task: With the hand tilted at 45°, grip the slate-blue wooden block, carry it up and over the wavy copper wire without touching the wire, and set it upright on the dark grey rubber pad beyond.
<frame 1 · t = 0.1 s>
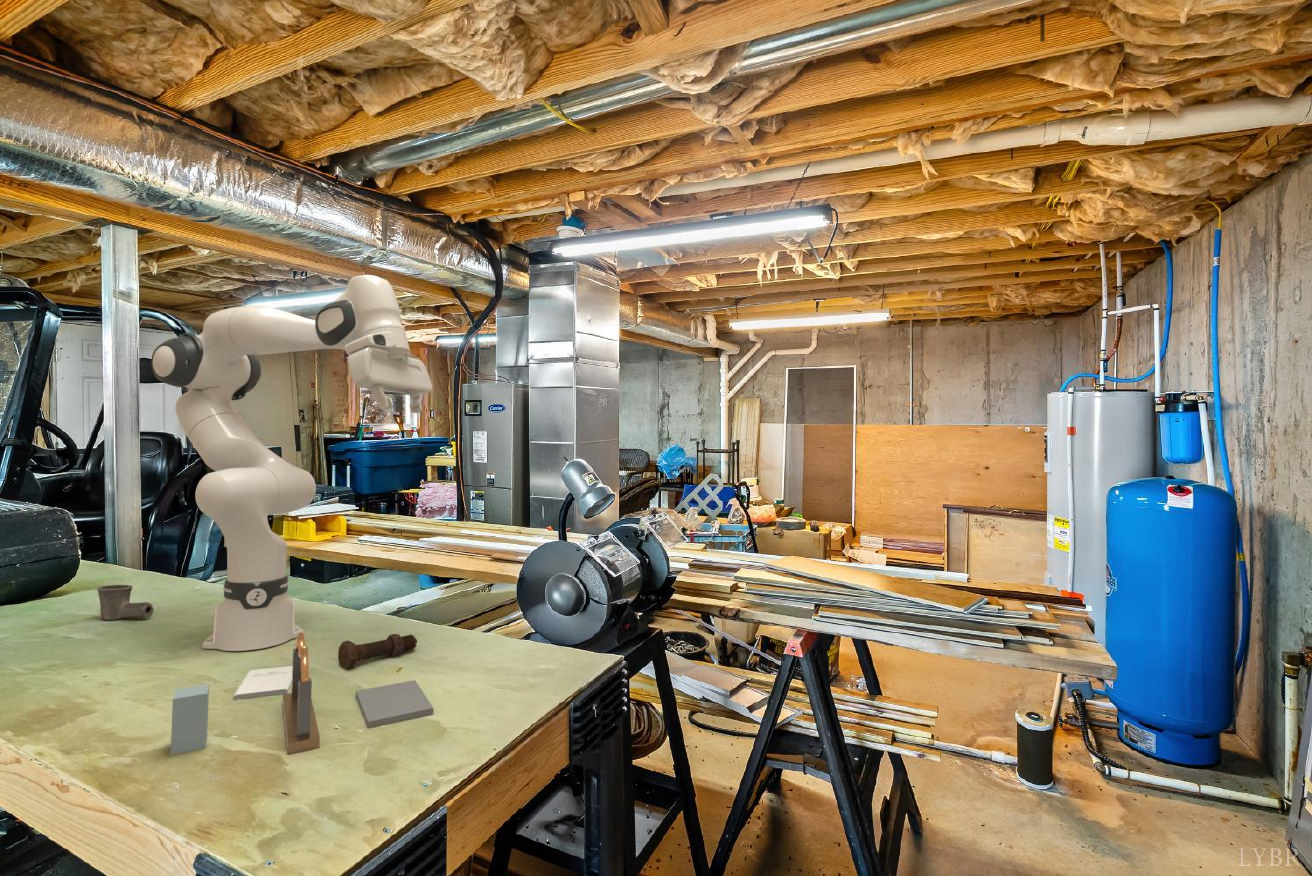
hand: (402, 410, 125), 52 cm above the table, tool tilted 20°, fingers open, 8 cm apart
wire frame: (299, 723, 97), on the table
pipe: (123, 619, 149), on the table
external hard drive: (267, 688, 112), on the table
bolt: (380, 660, 126), on the table
pad: (393, 704, 104), on the table
block: (189, 745, 89), on the table
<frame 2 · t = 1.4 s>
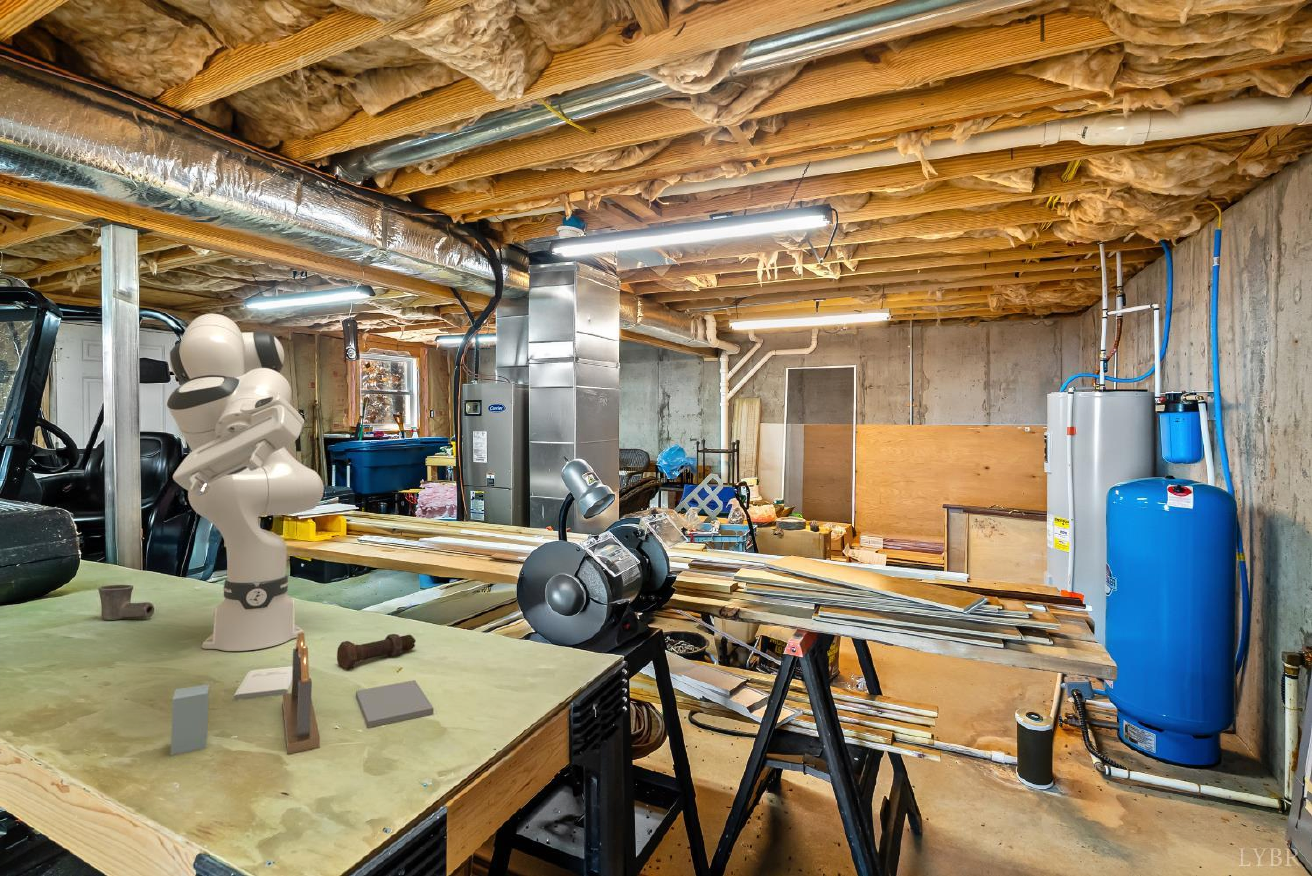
hand: (224, 479, 93), 39 cm above the table, tool tilted 55°, fingers open, 8 cm apart
nothing on the table moved.
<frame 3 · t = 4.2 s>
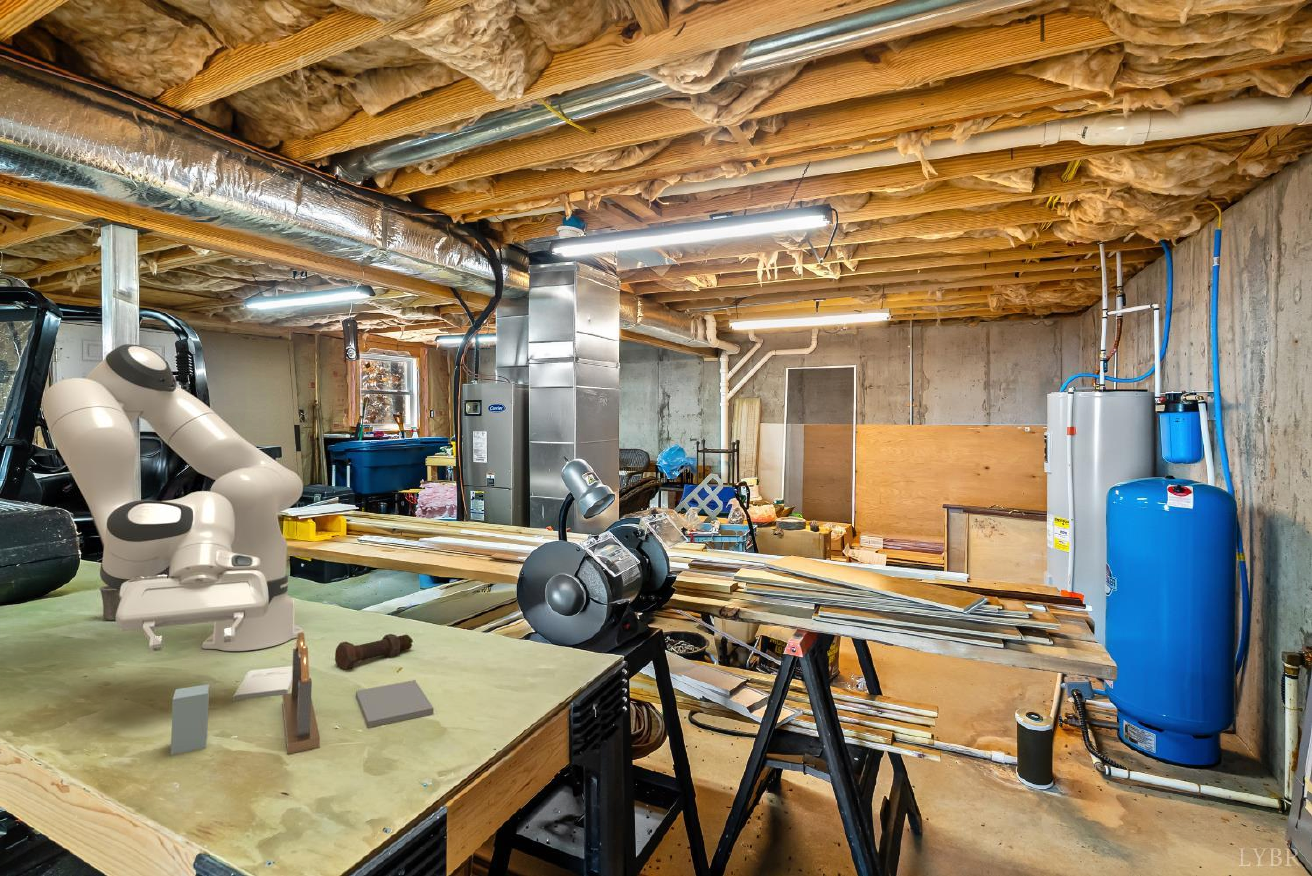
hand: (193, 644, 97), 12 cm above the table, tool tilted 45°, fingers open, 8 cm apart
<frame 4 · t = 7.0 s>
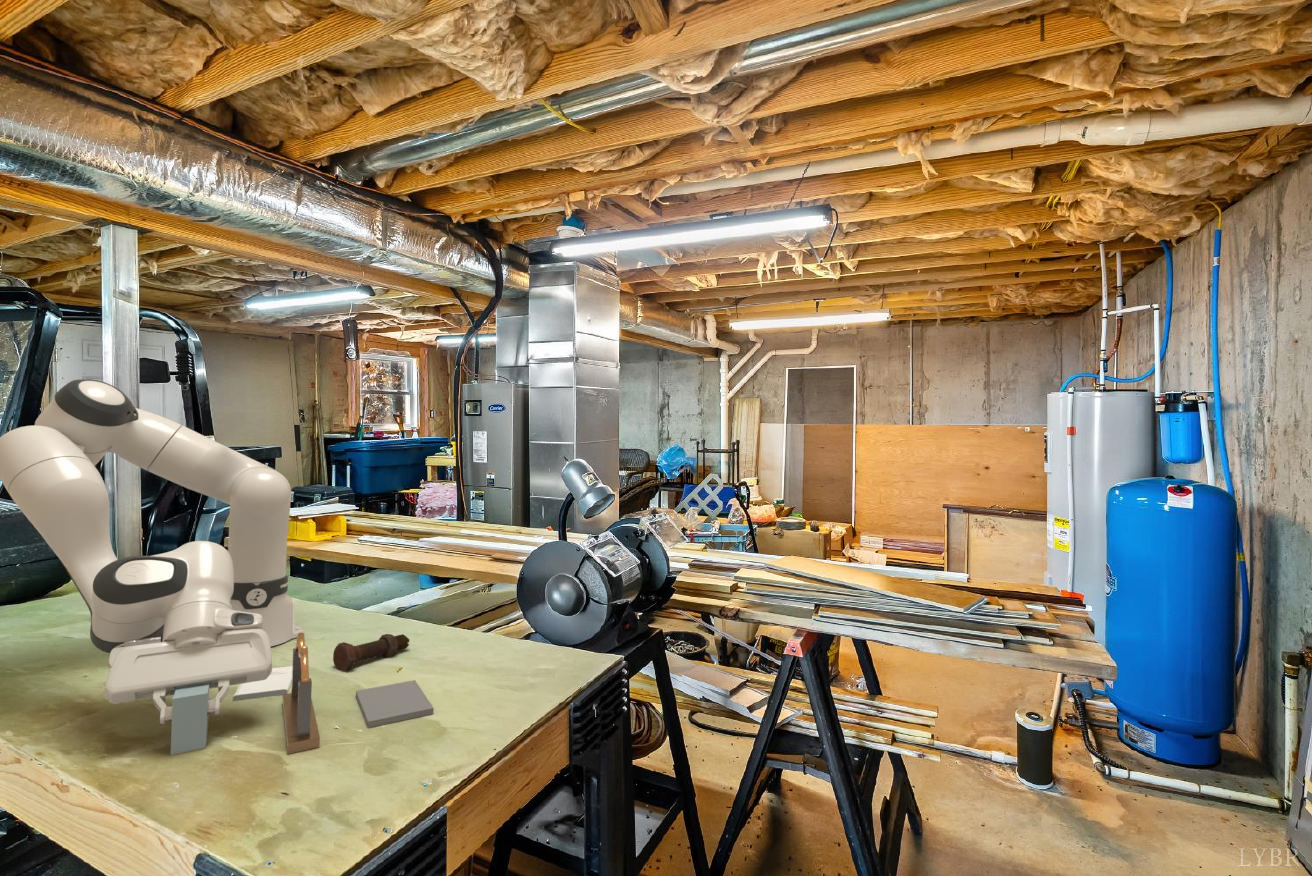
hand: (190, 717, 88), 4 cm above the table, tool tilted 45°, fingers closed on block, 4 cm apart
block: (189, 745, 89), on the table, touching gripper
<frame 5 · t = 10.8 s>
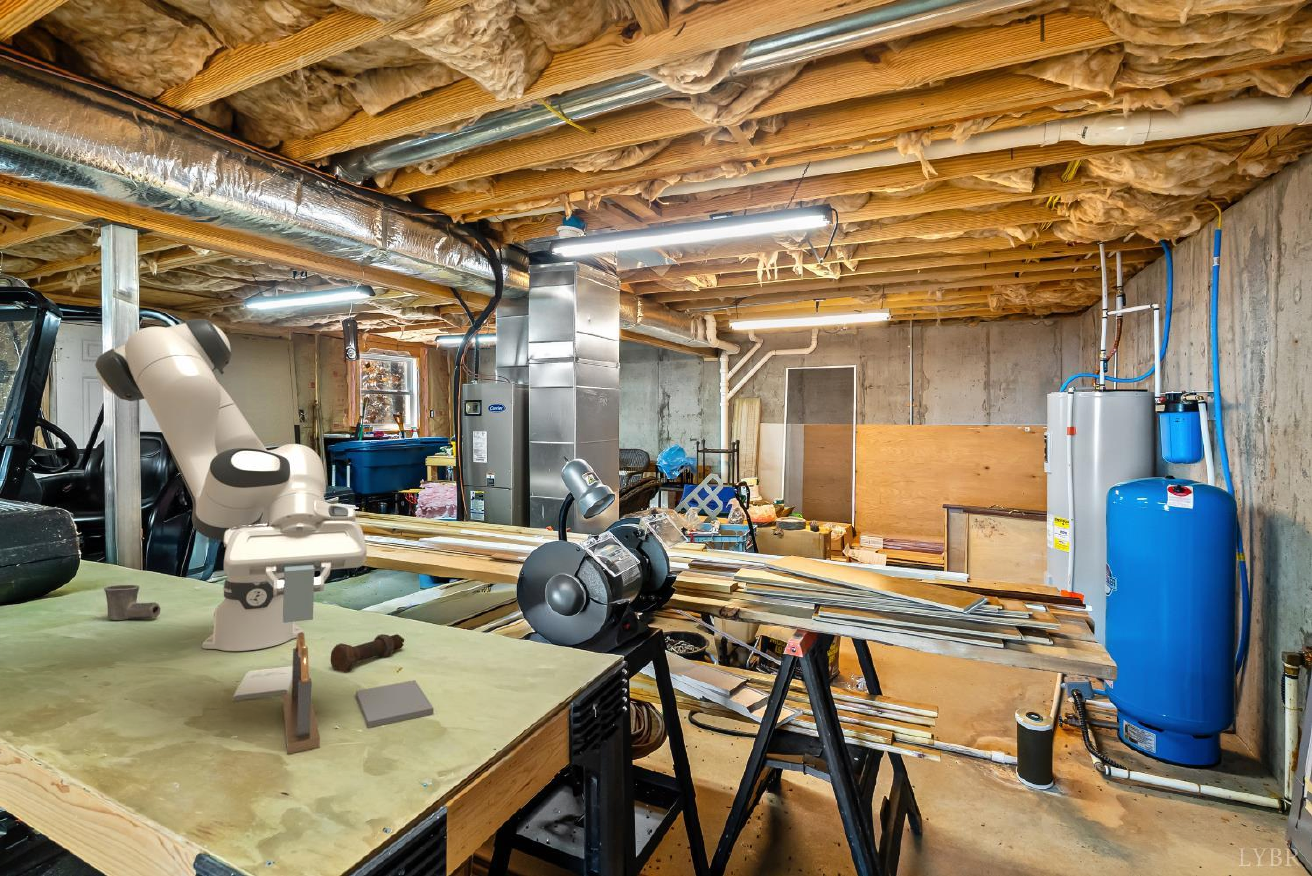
hand: (299, 591, 96), 21 cm above the table, tool tilted 45°, fingers closed on block, 4 cm apart
block: (297, 617, 96), point 17 cm above the table, touching gripper
when the fingers open (7 cm above the table, at t = 14.4 s): block drops 2 cm, resting on pad.
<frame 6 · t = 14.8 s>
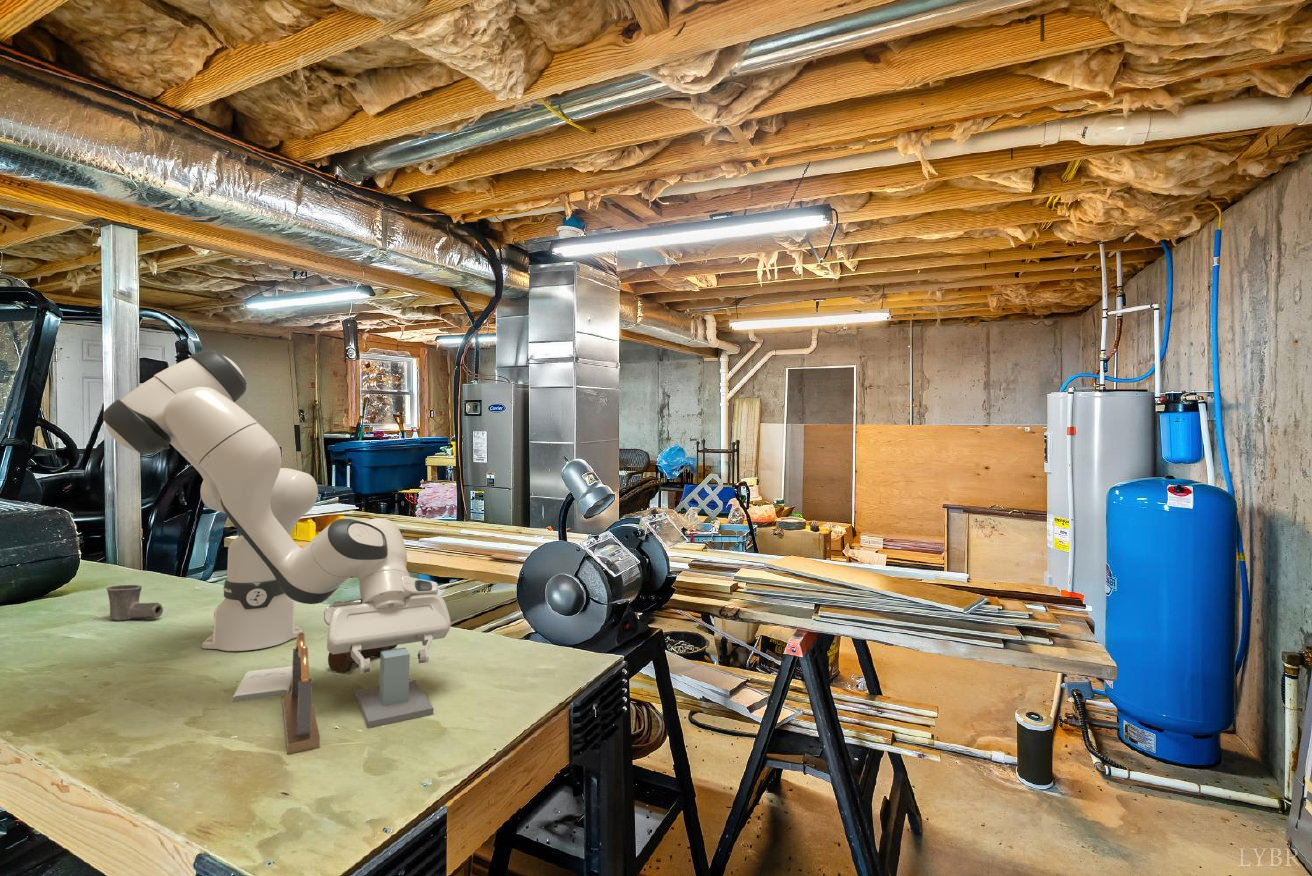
hand: (395, 666, 104), 7 cm above the table, tool tilted 45°, fingers open, 8 cm apart
block: (393, 699, 104), point 1 cm above the table, touching pad
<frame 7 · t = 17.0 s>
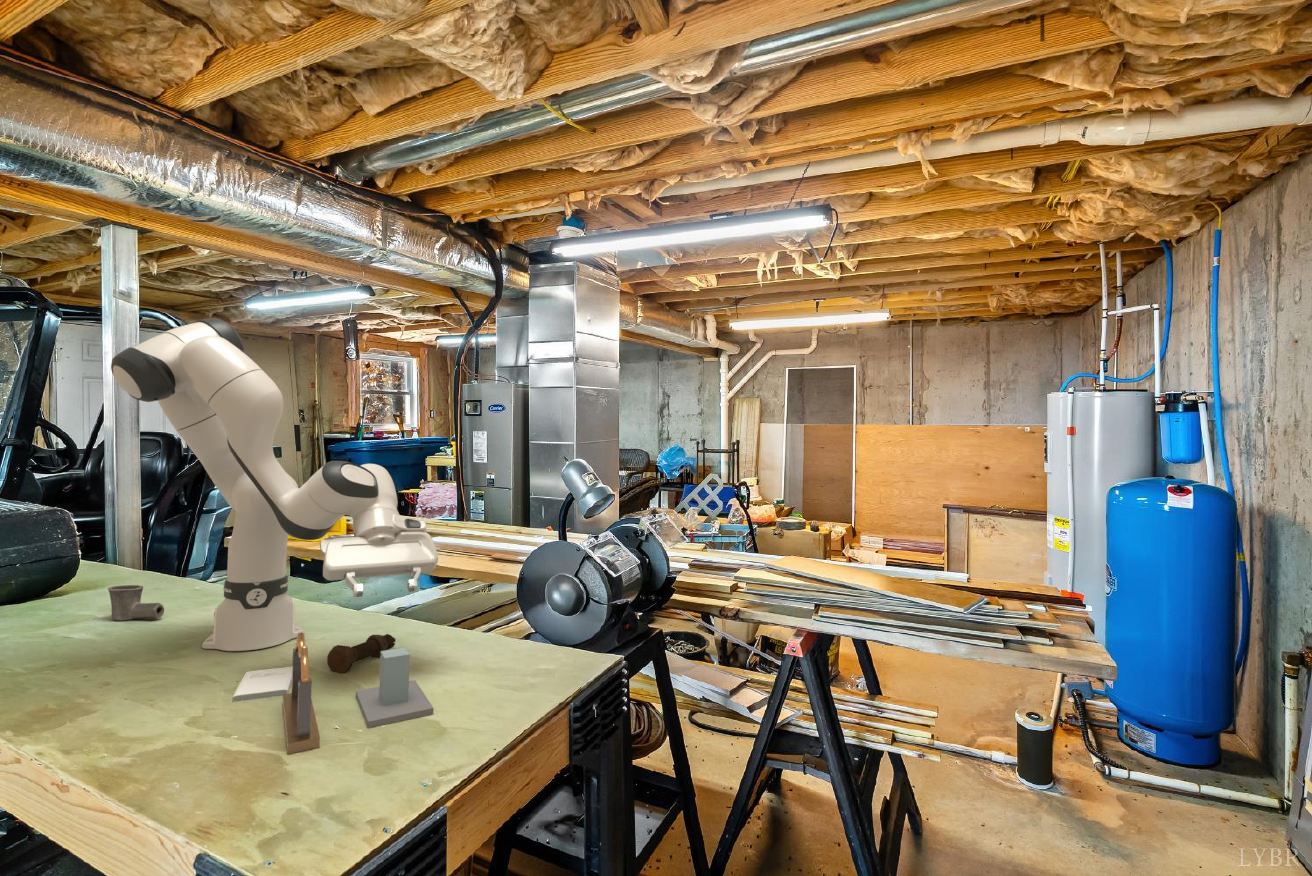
hand: (386, 592, 113), 17 cm above the table, tool tilted 45°, fingers open, 8 cm apart
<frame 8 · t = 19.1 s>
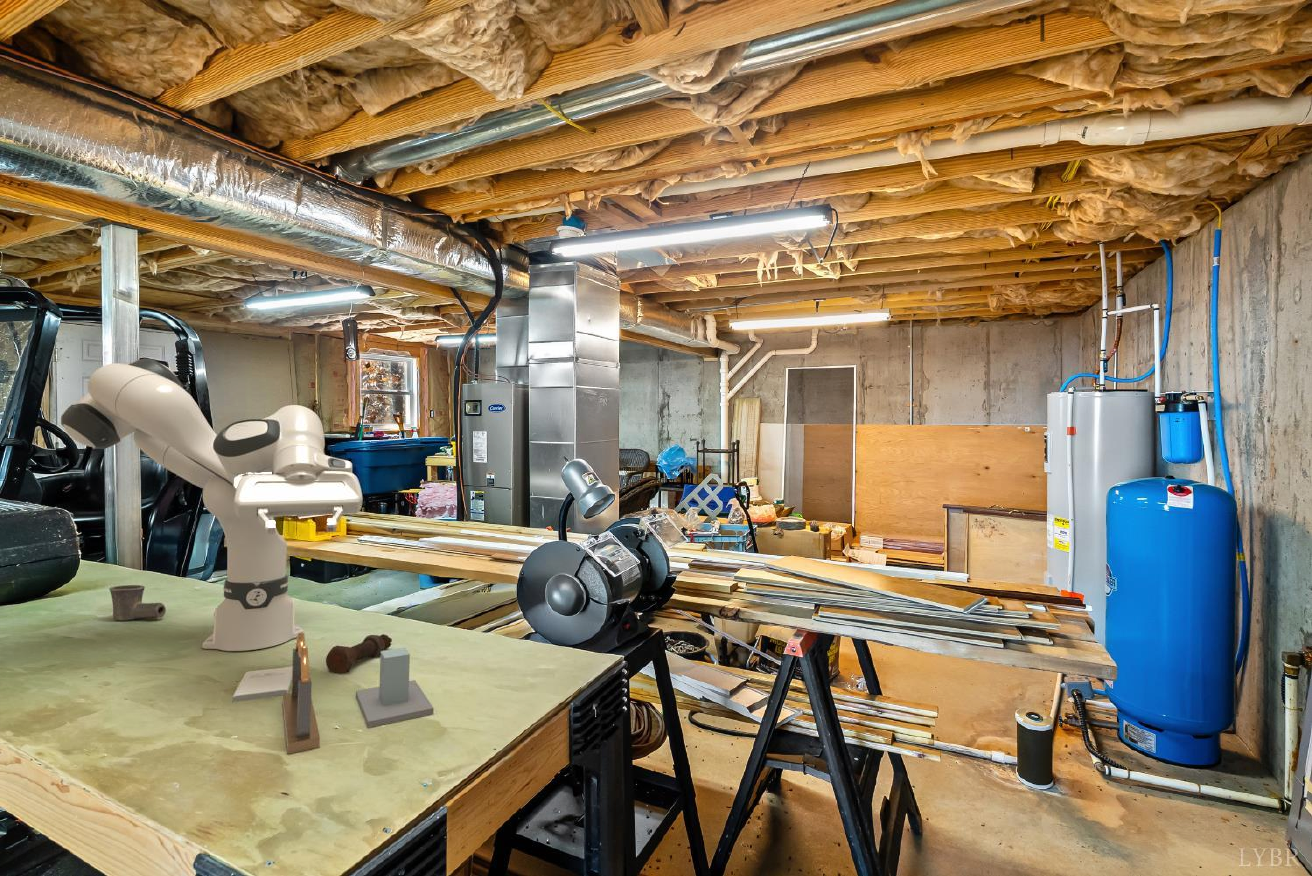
hand: (301, 530, 107), 29 cm above the table, tool tilted 45°, fingers open, 8 cm apart
at the end: block inside the target area on the pad (0.0 cm from its centre), point 1.0 cm above the pad's base; block tilted 0°; block touching pad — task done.
